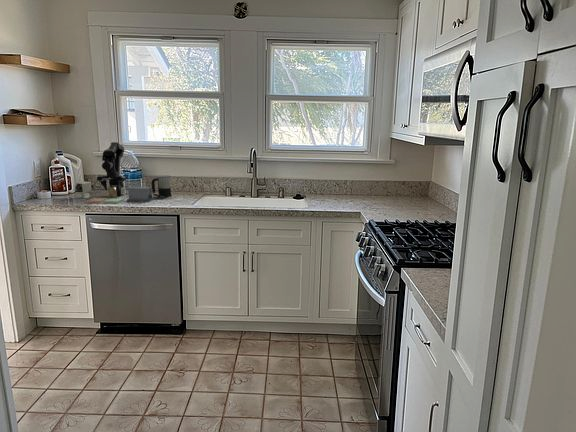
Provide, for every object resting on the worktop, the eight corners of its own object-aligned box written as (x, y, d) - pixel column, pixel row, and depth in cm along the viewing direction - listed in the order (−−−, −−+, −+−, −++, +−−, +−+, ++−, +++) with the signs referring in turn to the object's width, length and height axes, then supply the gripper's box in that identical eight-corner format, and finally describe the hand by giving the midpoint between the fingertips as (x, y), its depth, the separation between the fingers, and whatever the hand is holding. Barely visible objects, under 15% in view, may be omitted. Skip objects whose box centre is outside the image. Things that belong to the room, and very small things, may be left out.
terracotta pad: (94, 200, 297) (94, 197, 297) (108, 200, 296) (107, 198, 296) (86, 202, 287) (86, 200, 287) (100, 203, 286) (100, 200, 286)
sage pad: (110, 200, 296) (110, 198, 296) (124, 200, 295) (124, 198, 295) (103, 203, 286) (103, 201, 286) (117, 203, 285) (117, 201, 285)
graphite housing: (132, 198, 302) (131, 186, 300) (154, 199, 301) (153, 186, 299) (127, 200, 295) (126, 188, 293) (149, 201, 293) (148, 188, 291)
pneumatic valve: (94, 196, 309) (93, 180, 306) (80, 199, 299) (79, 182, 296) (89, 196, 311) (87, 179, 309) (75, 198, 301) (73, 182, 298)
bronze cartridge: (111, 197, 306) (110, 186, 304) (118, 198, 305) (117, 186, 303) (108, 199, 301) (106, 187, 299) (114, 199, 300) (113, 188, 298)
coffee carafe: (170, 194, 320) (169, 174, 316) (174, 198, 306) (173, 177, 302) (150, 196, 314) (149, 175, 310) (154, 199, 300) (152, 178, 296)
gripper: (128, 167, 305) (130, 188, 309) (103, 166, 307) (105, 188, 310) (121, 169, 294) (123, 191, 298) (95, 168, 296) (97, 190, 300)
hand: (112, 190), depth 302 cm, fingers open, 9 cm apart
